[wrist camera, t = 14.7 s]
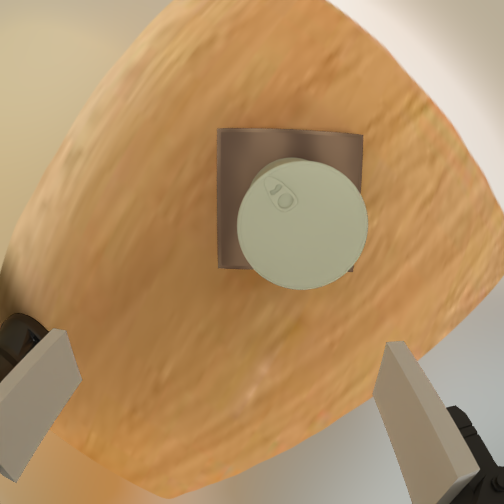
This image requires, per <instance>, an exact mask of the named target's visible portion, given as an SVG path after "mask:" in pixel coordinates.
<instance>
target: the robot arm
mask: <svg viewBox="0 0 504 504" xmlns="http://www.w3.org/2000/svg"><path fill="white" fill-rule="evenodd" d="M81 381H82V378H81V375H80V372H79V369H78V366H77V363H76V360H75V357H74V354H73V351H72V348H71V345H70V342H69V338H68V335H67V332H66V330H60V329H54V328H53V329H52V330H51V331H50V332H49V333H48V332H47V330H46V329H45V328H44V327H43V326H42V325H40V324H39V323H38V322H37V321H36V320H34V319H33V318H31V317H29V316H27V315H24V314H13V315H12V316H10V317H9V318H8V319H7V320H5V321H4V322H3V324H2V326H1V328H0V473H1V474H2V475H3V476H5V477H6V478H8V479H10V480H12V481H13V482H15V483H17V481H18V479H19V477H20V476H21V474H22V472H23V471H24V469H25V467H26V466H27V464H28V462H29V461H30V459H31V457H32V456H33V454H34V452H35V451H36V449H37V447H38V446H39V445H40V443H41V441H42V440H43V438H44V436H45V435H46V433H47V432H48V430H49V429H50V427H51V426H52V424H53V423H54V421H55V420H56V418H57V417H58V415H59V414H60V412H61V411H62V409H63V408H64V406H65V405H66V403H67V402H68V400H69V399H70V397H71V396H72V394H73V393H74V391H75V390H76V388H77V387H78V385H79V384H80V383H81ZM373 397H374V399H375V402H376V404H377V407H378V409H379V412H380V414H381V417H382V419H383V422H384V425H385V428H386V430H387V433H388V436H389V438H390V441H391V444H392V446H393V449H394V452H395V454H396V457H397V460H398V463H399V466H400V469H401V471H402V474H403V477H404V480H405V483H406V486H407V489H408V492H409V495H410V498H411V501H412V504H504V467H501V466H497V464H496V463H495V462H494V460H493V458H492V456H491V455H490V453H489V451H488V449H487V448H486V446H485V444H484V443H483V441H482V439H481V437H480V436H479V435H477V431H476V429H475V428H474V426H472V423H471V421H470V419H469V418H468V416H467V415H466V414H465V413H464V412H463V411H462V410H461V409H459V408H458V407H457V406H451V407H447V408H445V406H444V404H443V402H442V401H441V399H440V397H439V396H438V394H437V392H436V391H435V389H434V388H433V386H432V384H431V383H430V381H429V379H428V378H427V376H426V375H425V373H424V372H423V370H422V368H421V367H420V365H419V364H418V362H417V361H416V359H415V358H414V356H413V354H412V353H411V351H410V350H409V348H408V347H407V345H406V344H405V342H404V341H396V342H386V346H385V350H384V354H383V358H382V362H381V366H380V370H379V373H378V377H377V380H376V384H375V387H374V390H373Z"/></svg>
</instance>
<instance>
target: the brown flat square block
mask: <svg viewBox="0 0 504 504" xmlns="http://www.w3.org/2000/svg"><path fill="white" fill-rule="evenodd" d="M283 158H301V159H305V160H308V161H314V162H320V163H323V164H326V165H328V166H331V167H333V168H335V169H337V170H338V171H340V172H341V173H343V174H344V175H345V176H346V177H347V178H348V179H350V181H351V182H352V183H353V184H354V185H355V186H356V188H357V189H358V191H359V192H360V194H361V178H362V158H363V135H359V134H349V133H338V132H326V131H311V130H293V129H262V128H221V129H217V235H218V268H225V269H253V268H252V266H251V265H250V264H249V262H248V261H247V260H246V258H245V256H244V254H243V252H242V250H241V247H240V244H239V240H238V234H237V218H238V212H239V208H240V206H241V203H242V200H243V198H244V196H245V194H246V193H247V191H248V189H249V188H250V185H251V183H252V181H253V179H254V178H255V176H256V175H257V174H258V173H259V171H260V170H261V169H263V168H264V167H265V166H267V165H268V164H270V163H272V162H274V161H276V160H279V159H283ZM353 267H354V265H353V266H352V267H351V268H350V269H349V270H348V271H347V272H353Z"/></svg>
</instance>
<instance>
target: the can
mask: <svg viewBox="0 0 504 504" xmlns="http://www.w3.org/2000/svg"><path fill="white" fill-rule="evenodd" d="M367 232H368V216H367V210H366V207H365V203H364V201H363V198H362V196H361V194H360V192H359V191H358V189H357V188H356V186H355V185H354V184H353V183H352V182H351V181H350V179H348V178H347V177H346V176H345V175H344V174H343V173H341V172H340V171H338V170H337V169H335V168H333V167H331V166H328V165H326V164H323V163H320V162H314V161H308V160H305V159H301V158H283V159H279V160H276V161H274V162H272V163H270V164H268V165H267V166H265V167H264V168H263V169H261V170H260V171H259V173H258V174H257V175H256V176H255V178H254V179H253V181H252V183H251V185H250V188H249V189H248V191H247V193H246V194H245V196H244V198H243V200H242V203H241V206H240V208H239V212H238V218H237V234H238V240H239V244H240V247H241V250H242V252H243V254H244V256H245V258H246V260H247V261H248V262H249V264H250V265H251V266H252V268H253V269H254V270H255V271H256V272H257V273H258V274H259V275H261V276H262V277H263V278H265V279H266V280H268V281H270V282H272V283H274V284H276V285H278V286H281V287H285V288H289V289H297V290H306V289H314V288H318V287H322V286H325V285H327V284H330V283H332V282H334V281H335V280H337V279H339V278H340V277H341V276H343V275H344V274H345V273H346V272H347V271H348V270H349V269H350V268H351V267H352V266H353V265H354V264H355V262H356V261H357V259H358V258H359V256H360V254H361V252H362V250H363V248H364V245H365V242H366V238H367Z"/></svg>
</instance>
